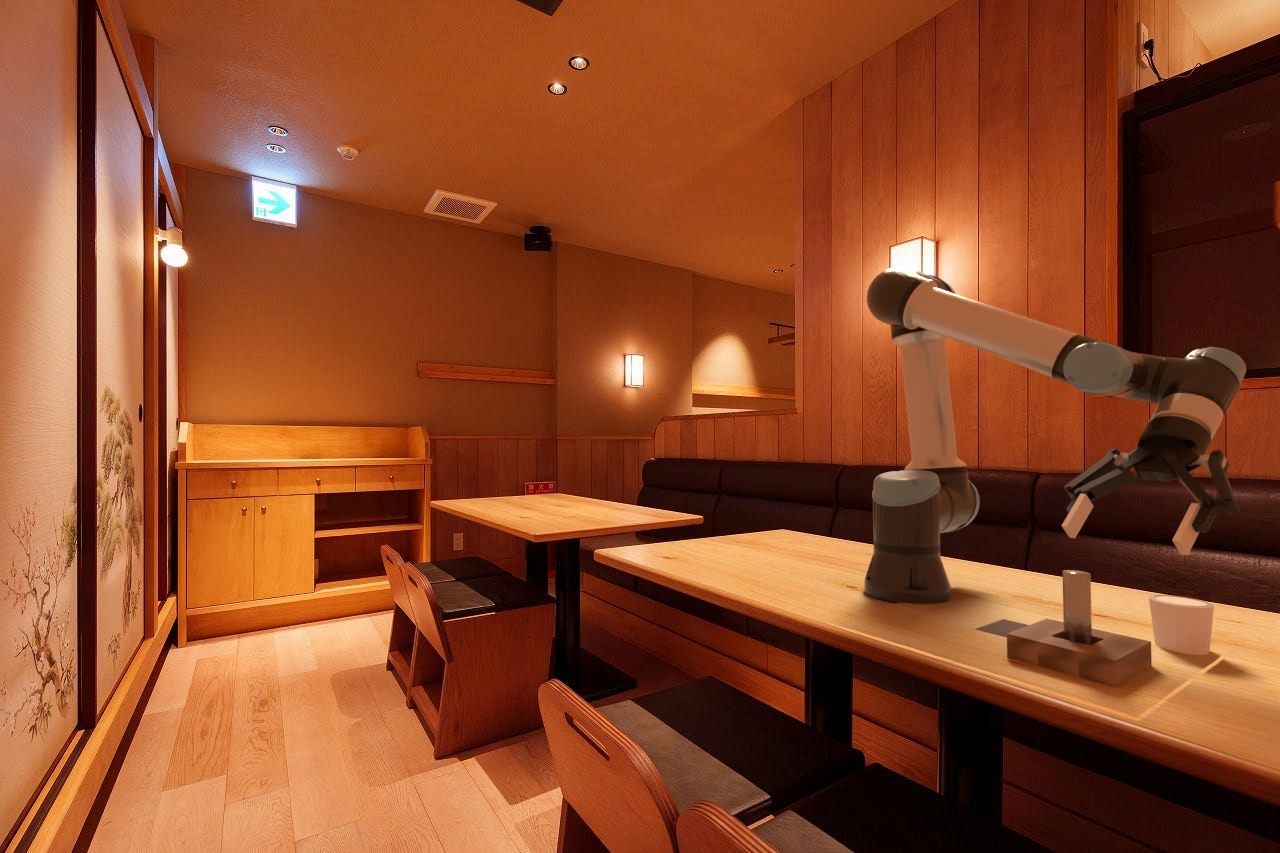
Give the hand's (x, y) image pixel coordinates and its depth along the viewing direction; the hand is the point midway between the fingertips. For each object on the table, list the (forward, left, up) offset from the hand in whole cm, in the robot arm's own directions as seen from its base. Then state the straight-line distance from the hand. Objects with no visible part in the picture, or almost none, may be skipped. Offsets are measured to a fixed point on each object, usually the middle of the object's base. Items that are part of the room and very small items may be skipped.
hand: (1119, 539), depth 83 cm
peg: (-2, -9, -16) cm, 18 cm away
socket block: (-2, -9, -16) cm, 18 cm away
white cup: (+4, +9, -16) cm, 19 cm away
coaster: (-12, -2, -16) cm, 20 cm away
